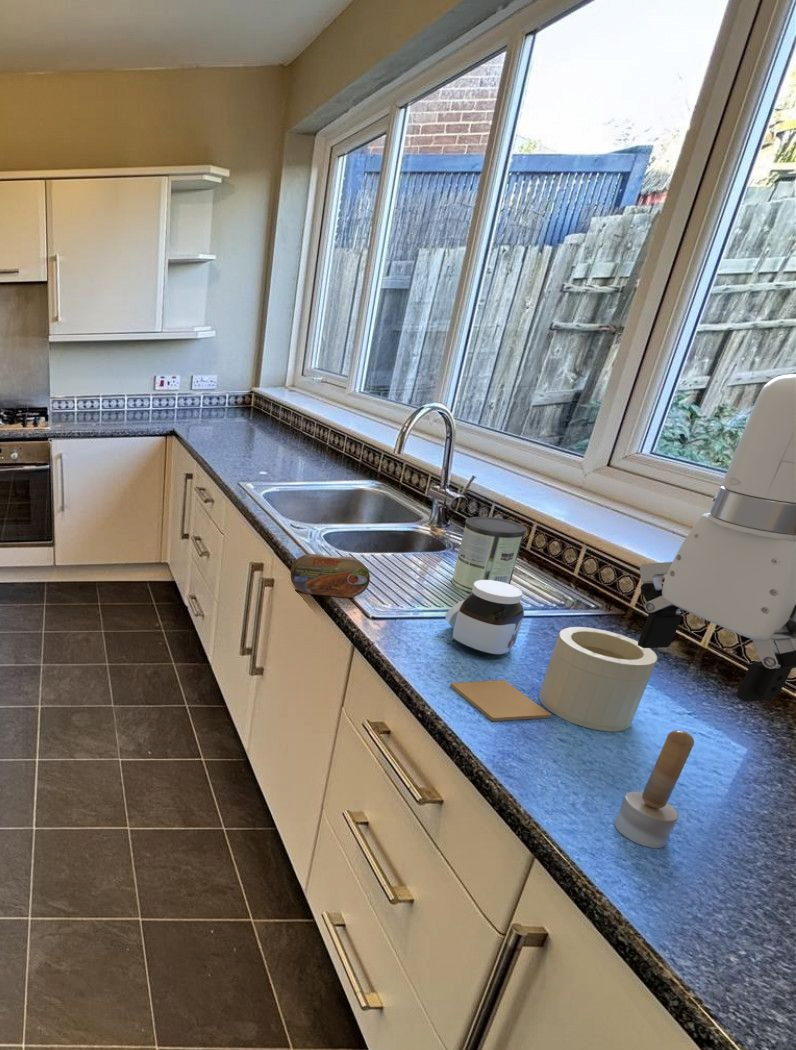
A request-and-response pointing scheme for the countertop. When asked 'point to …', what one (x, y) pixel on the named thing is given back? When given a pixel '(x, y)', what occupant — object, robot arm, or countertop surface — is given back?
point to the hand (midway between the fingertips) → (699, 671)
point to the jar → (596, 678)
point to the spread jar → (487, 619)
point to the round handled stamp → (656, 796)
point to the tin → (330, 575)
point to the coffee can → (487, 551)
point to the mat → (499, 700)
